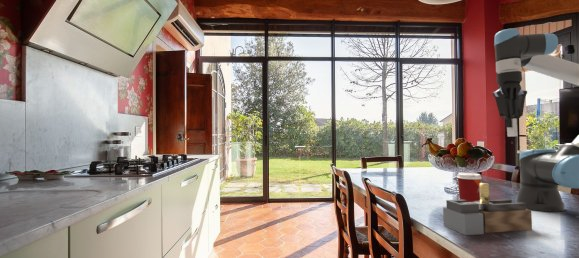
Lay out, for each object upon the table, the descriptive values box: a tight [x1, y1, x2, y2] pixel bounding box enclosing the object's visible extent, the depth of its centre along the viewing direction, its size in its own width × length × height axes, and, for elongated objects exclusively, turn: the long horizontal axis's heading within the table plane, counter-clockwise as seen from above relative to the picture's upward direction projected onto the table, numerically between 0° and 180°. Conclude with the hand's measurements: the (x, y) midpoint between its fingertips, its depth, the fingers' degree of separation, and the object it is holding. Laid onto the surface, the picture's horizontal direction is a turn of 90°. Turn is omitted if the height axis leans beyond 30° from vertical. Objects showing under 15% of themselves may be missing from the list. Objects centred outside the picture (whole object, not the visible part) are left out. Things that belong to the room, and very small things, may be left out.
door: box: [473, 198, 533, 234], centre depth 96 cm, size 16×8×8 cm, turn 98°
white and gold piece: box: [461, 182, 493, 210], centre depth 95 cm, size 9×3×8 cm, turn 98°
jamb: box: [442, 199, 485, 236], centre depth 94 cm, size 6×10×9 cm, turn 8°
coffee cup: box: [456, 172, 483, 202], centre depth 112 cm, size 8×8×15 cm
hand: (512, 136), depth 110 cm, fingers closed
